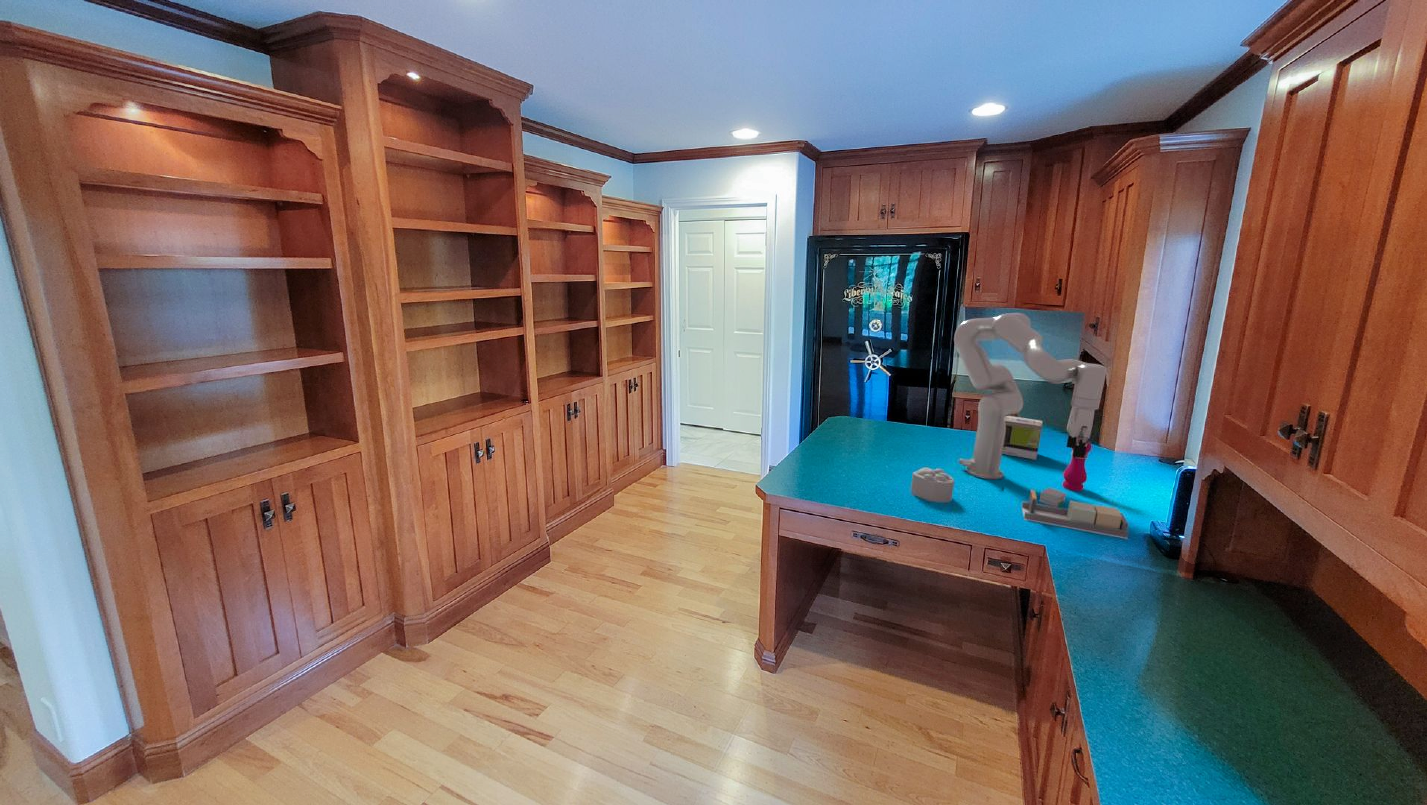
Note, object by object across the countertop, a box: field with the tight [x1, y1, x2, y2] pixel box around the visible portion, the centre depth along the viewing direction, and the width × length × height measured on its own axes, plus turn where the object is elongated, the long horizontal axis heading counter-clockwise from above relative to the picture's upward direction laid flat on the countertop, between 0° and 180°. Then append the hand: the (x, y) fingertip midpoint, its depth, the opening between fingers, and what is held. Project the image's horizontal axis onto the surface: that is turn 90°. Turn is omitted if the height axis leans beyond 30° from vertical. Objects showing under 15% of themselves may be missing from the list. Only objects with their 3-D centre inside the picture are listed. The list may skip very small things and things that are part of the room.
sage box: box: [1067, 500, 1096, 524], centre depth 172 cm, size 6×6×6 cm
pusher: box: [1028, 489, 1038, 513], centre depth 177 cm, size 1×7×6 cm, turn 157°
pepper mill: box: [1062, 439, 1092, 492], centre depth 199 cm, size 7×7×20 cm
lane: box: [1021, 500, 1130, 540], centre depth 173 cm, size 27×11×5 cm, turn 66°
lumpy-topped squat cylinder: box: [910, 467, 955, 503], centre depth 191 cm, size 10×13×9 cm
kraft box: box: [1093, 504, 1122, 529], centre depth 170 cm, size 6×6×6 cm
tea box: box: [1002, 415, 1043, 461], centre depth 233 cm, size 15×10×15 cm, turn 58°
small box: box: [1039, 487, 1067, 508], centre depth 187 cm, size 6×6×5 cm
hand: (1074, 452), depth 183 cm, fingers open, 9 cm apart
